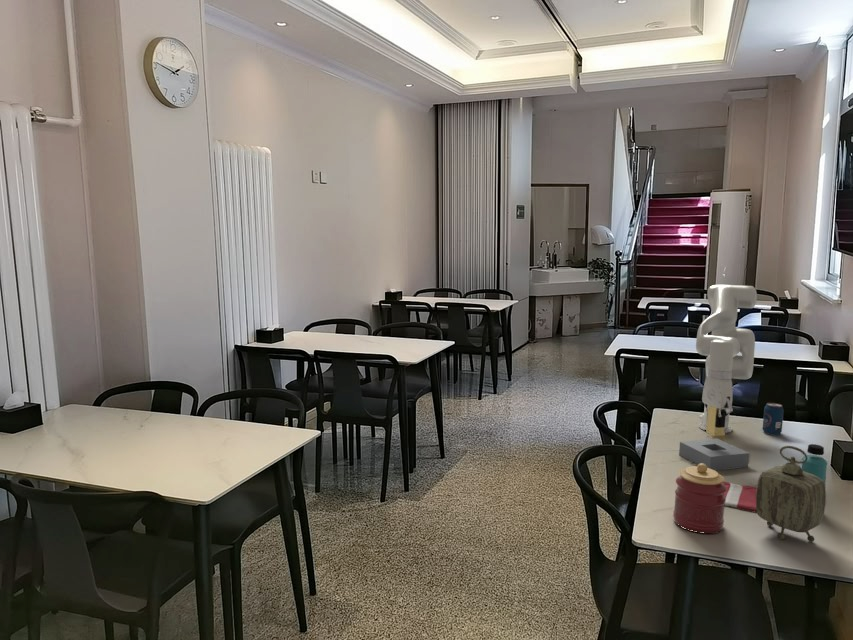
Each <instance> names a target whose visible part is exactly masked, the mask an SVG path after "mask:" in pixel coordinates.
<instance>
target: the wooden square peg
mask: <svg viewBox="0 0 853 640" xmlns="http://www.w3.org/2000/svg"><path fill="white" fill-rule="evenodd" d="M722 412H723V410H722ZM717 416H718V408H715V407H712V406H709V405H708V416H707V429H706V431H705V433H707V434H709V435H711V436H712V435H713V436H720V435H724V427H722V428H717V427H716V422H717Z"/></svg>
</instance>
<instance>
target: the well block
mask: <svg viewBox="0 0 853 640" xmlns="http://www.w3.org/2000/svg"><path fill="white" fill-rule="evenodd" d="M726 442H727V441H726ZM726 442H724V441H721V440H719V439H717V438H716V439H711V438H708V439H695V440H684V441H679V452H678V454H679V456H681V457H683V459H686V460H688V461H690V462H691V461H692V463H693V462H694V463H693V464H695V463H696V464H695V465H697V464H700V463H703V464H705V465H706V466H707V468H710V469H712V470H715V471H722V470H721V469H723V470H729V469H730V470H733V469H739V468H740V469H741V468H748V467H749V461H750V460H749V459H750V453H749V452H747V451H745V450H743V449H741V448H739V447H737V446H735V445H733V444H730V443H726Z"/></svg>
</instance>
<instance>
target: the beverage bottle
mask: <svg viewBox="0 0 853 640" xmlns="http://www.w3.org/2000/svg"><path fill="white" fill-rule="evenodd" d="M806 450H807V451H806V452H807V453H808V454H806V455H807V458H808V459H807V461H806V462H805V463H801V469H802V471H804V472H807V473H810V474H812V475H815V476H817V477H819V478H820V479H821V480H823V482H824V485H825V490H826V482H827V468H828V467H827V466H828V462H827V460H826V459H825V458H824V457H823V455H824V454H825V450H824V446H822V445H819V444H813V443H811V444H807V449H806ZM805 459H806V458H805V456H804V457H802V459H801V461H805Z"/></svg>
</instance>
